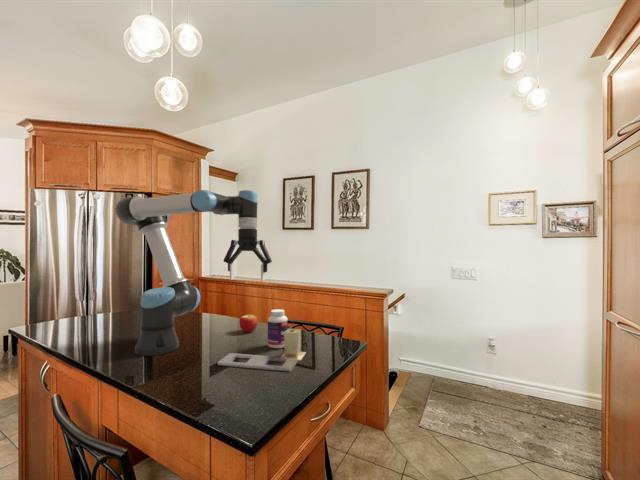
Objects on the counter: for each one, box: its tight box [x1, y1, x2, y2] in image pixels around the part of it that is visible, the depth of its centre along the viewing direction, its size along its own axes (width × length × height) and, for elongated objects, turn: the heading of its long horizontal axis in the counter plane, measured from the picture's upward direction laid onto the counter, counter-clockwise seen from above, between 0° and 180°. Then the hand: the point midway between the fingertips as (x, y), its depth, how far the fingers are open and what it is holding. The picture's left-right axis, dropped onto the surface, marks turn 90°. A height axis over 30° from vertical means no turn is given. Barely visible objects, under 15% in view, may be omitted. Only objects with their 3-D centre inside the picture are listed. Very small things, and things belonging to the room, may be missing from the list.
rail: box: [217, 352, 299, 373], centre depth 107 cm, size 26×9×1 cm, turn 79°
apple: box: [238, 310, 259, 333], centre depth 145 cm, size 8×8×10 cm
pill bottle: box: [267, 308, 289, 349], centre depth 125 cm, size 8×8×14 cm
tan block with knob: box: [283, 328, 302, 358], centre depth 114 cm, size 5×5×9 cm
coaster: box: [280, 351, 307, 362], centre depth 114 cm, size 8×8×1 cm
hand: (247, 280), depth 126 cm, fingers open, 13 cm apart
